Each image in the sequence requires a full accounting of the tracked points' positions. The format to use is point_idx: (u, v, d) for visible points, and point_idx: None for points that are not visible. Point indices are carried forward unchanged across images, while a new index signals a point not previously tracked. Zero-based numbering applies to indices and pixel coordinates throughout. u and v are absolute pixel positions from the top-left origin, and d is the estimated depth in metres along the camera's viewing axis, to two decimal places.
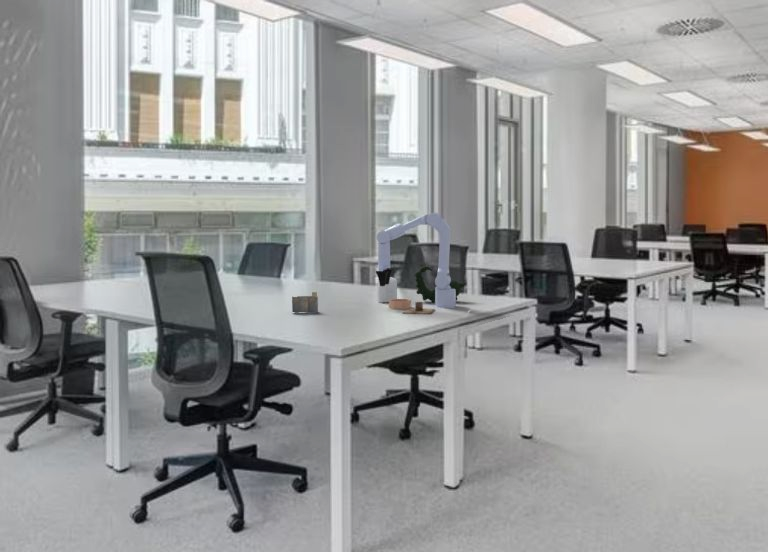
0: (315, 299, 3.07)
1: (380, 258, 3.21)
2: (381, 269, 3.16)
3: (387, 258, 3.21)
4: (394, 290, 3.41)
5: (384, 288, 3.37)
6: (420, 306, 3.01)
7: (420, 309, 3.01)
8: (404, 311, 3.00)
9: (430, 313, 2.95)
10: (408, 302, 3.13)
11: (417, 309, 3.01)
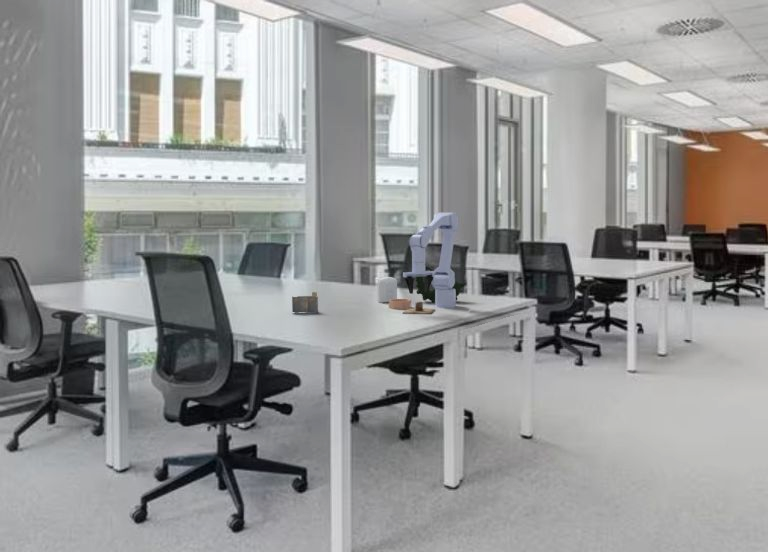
0: (315, 299, 3.07)
1: (412, 263, 3.00)
2: (404, 275, 2.97)
3: (417, 264, 2.98)
4: (394, 290, 3.41)
5: (384, 288, 3.37)
6: (420, 306, 3.01)
7: (420, 309, 3.01)
8: (404, 311, 3.00)
9: (430, 313, 2.95)
10: (408, 302, 3.13)
11: (417, 309, 3.01)
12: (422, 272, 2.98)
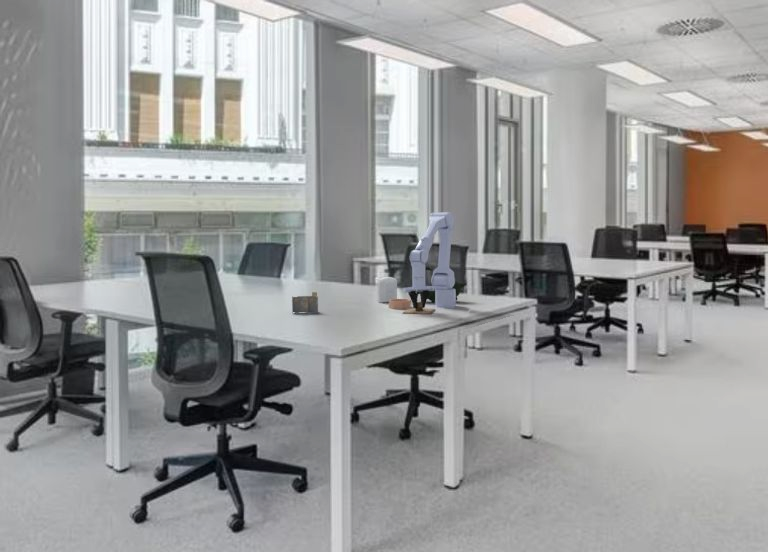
0: (315, 299, 3.07)
1: (412, 279, 3.01)
2: (404, 290, 2.98)
3: (417, 279, 2.98)
4: (394, 290, 3.41)
5: (384, 288, 3.37)
6: (420, 306, 3.01)
7: (420, 309, 3.01)
8: (404, 311, 3.00)
9: (430, 313, 2.95)
10: (408, 302, 3.13)
11: (417, 309, 3.01)
12: (422, 287, 2.99)
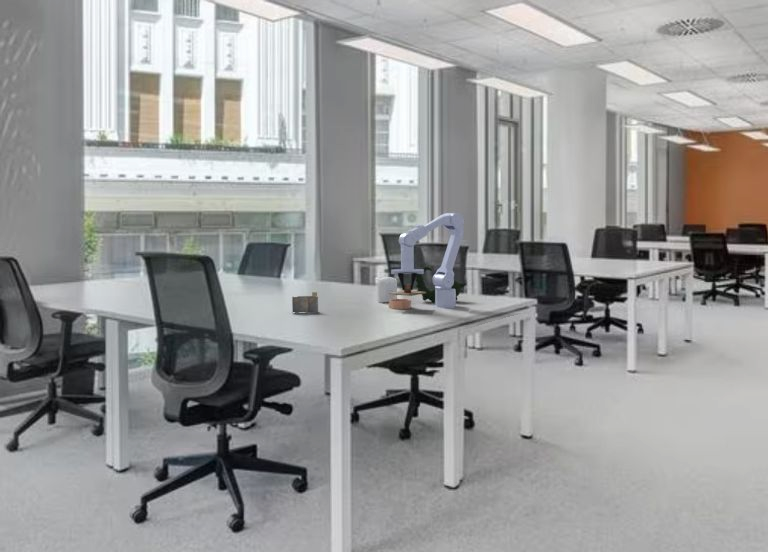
0: (315, 299, 3.07)
1: None
2: (391, 272, 3.09)
3: (403, 261, 3.07)
4: (394, 290, 3.41)
5: (384, 288, 3.37)
6: (407, 288, 3.08)
7: (407, 291, 3.08)
8: (392, 292, 3.10)
9: (411, 295, 3.01)
10: (408, 302, 3.13)
11: (404, 291, 3.09)
12: (408, 270, 3.06)
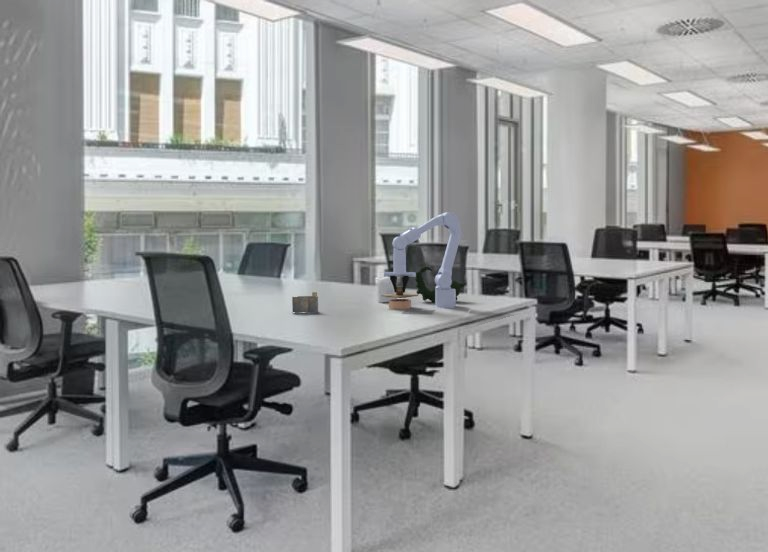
0: (315, 299, 3.07)
1: None
2: None
3: (394, 264, 3.13)
4: None
5: (384, 288, 3.37)
6: (399, 290, 3.14)
7: (399, 293, 3.14)
8: None
9: (400, 297, 3.07)
10: (408, 302, 3.13)
11: (396, 293, 3.15)
12: (399, 272, 3.12)
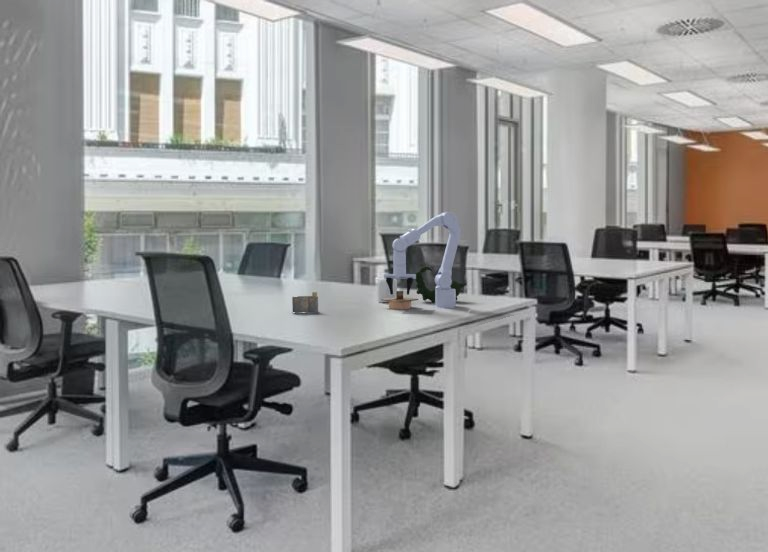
0: (315, 299, 3.07)
1: None
2: None
3: (394, 266, 3.13)
4: (394, 290, 3.41)
5: (384, 288, 3.37)
6: (399, 295, 3.14)
7: (399, 298, 3.14)
8: None
9: (400, 302, 3.07)
10: (408, 302, 3.13)
11: (396, 297, 3.15)
12: (399, 275, 3.12)
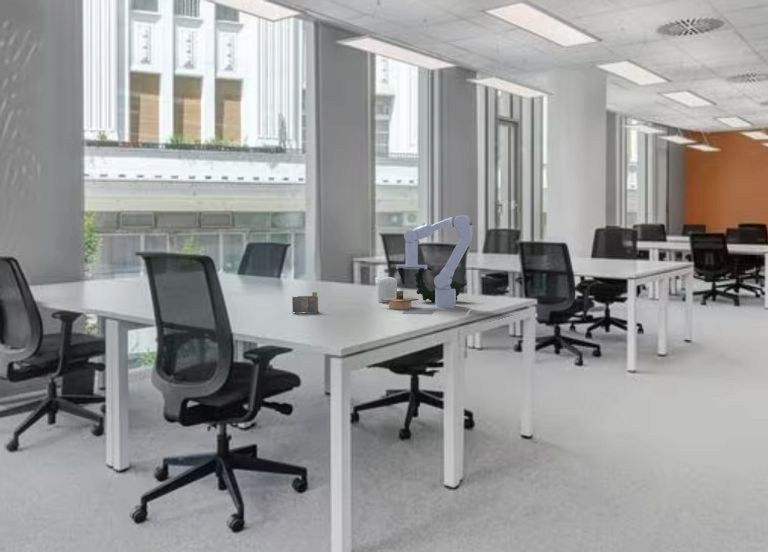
0: (315, 299, 3.07)
1: None
2: None
3: (406, 257, 3.21)
4: (394, 290, 3.41)
5: (384, 288, 3.37)
6: (399, 295, 3.14)
7: (399, 298, 3.14)
8: None
9: (400, 302, 3.07)
10: (408, 302, 3.13)
11: (396, 297, 3.15)
12: (411, 265, 3.20)
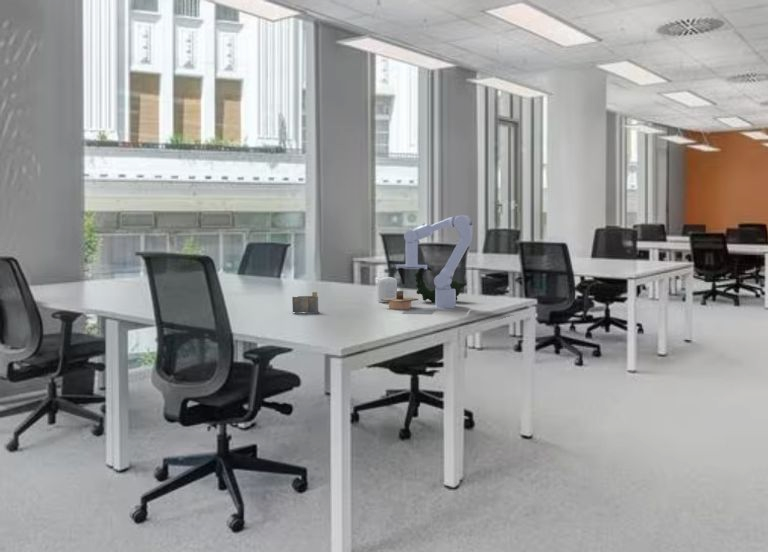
0: (315, 299, 3.07)
1: None
2: None
3: (406, 257, 3.21)
4: (394, 290, 3.41)
5: (384, 288, 3.37)
6: (399, 295, 3.14)
7: (399, 298, 3.14)
8: None
9: (400, 302, 3.07)
10: (408, 302, 3.13)
11: (396, 297, 3.15)
12: (411, 265, 3.20)
